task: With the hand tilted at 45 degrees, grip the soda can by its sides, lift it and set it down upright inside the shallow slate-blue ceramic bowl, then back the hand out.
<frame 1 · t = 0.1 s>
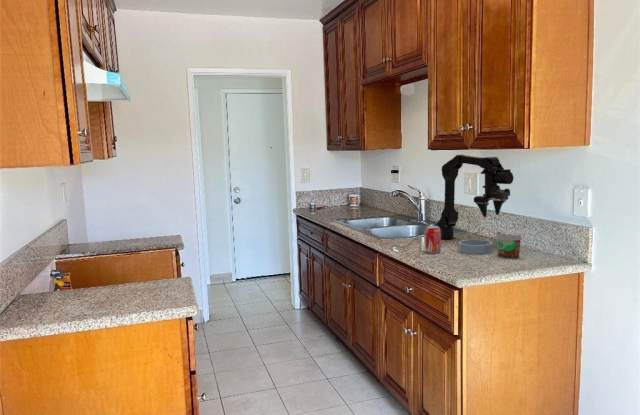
hand: (491, 216, 235), 15 cm above the table, tool pointing down, fingers open, 9 cm apart
bowl: (475, 250, 227), on the table
soda can: (433, 252, 229), on the table
food container: (505, 256, 214), on the table
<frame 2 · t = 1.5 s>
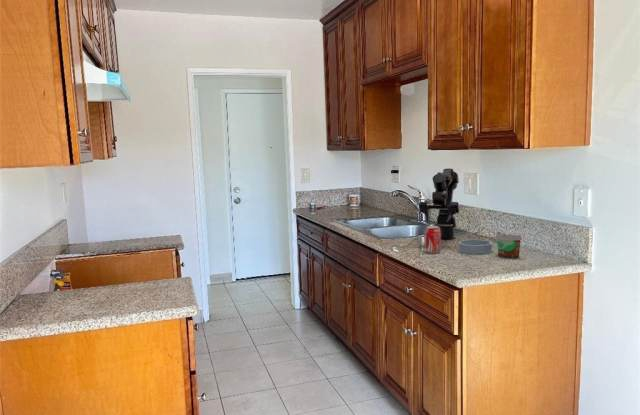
hand: (436, 221, 234), 13 cm above the table, tool tilted 45°, fingers open, 9 cm apart
nothing on the table moved.
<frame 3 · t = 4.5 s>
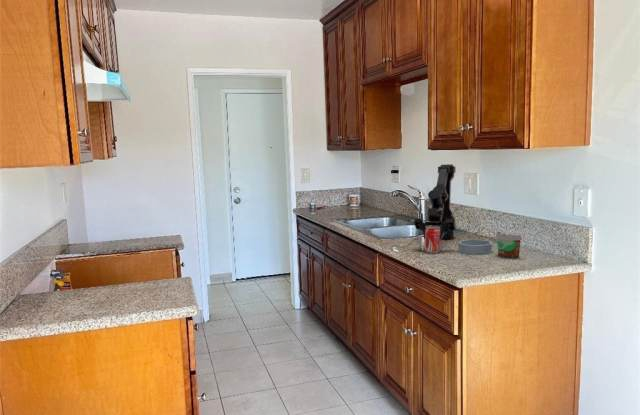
hand: (432, 238, 227), 7 cm above the table, tool tilted 45°, fingers closed on soda can, 7 cm apart
soda can: (433, 252, 229), on the table, touching gripper
everything else where it was.
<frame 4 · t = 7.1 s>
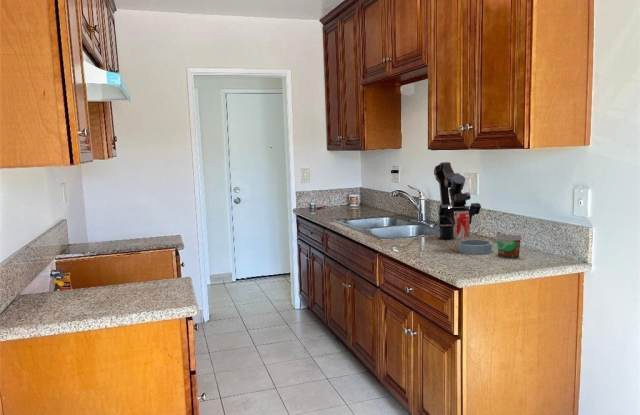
hand: (462, 224, 224), 13 cm above the table, tool tilted 45°, fingers closed on soda can, 7 cm apart
soda can: (461, 238, 226), point 6 cm above the table, touching gripper
everything else where it was.
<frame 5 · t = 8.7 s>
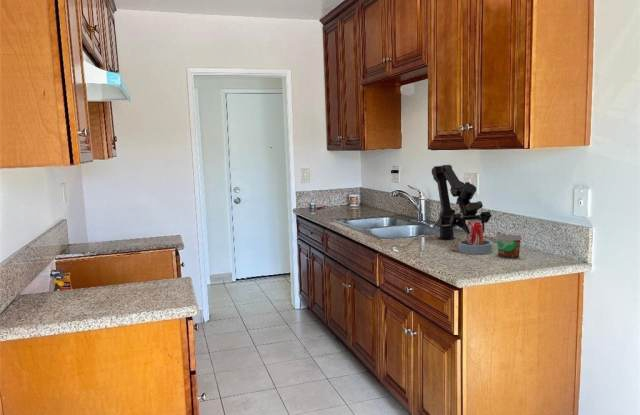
hand: (476, 232, 225), 9 cm above the table, tool tilted 45°, fingers closed on soda can, 7 cm apart
soda can: (474, 246, 227), point 2 cm above the table, touching gripper
everything else where it was.
when the fingers open (8 cm above the table, at t = 9.7 s): soda can stays where it is, resting on bowl.
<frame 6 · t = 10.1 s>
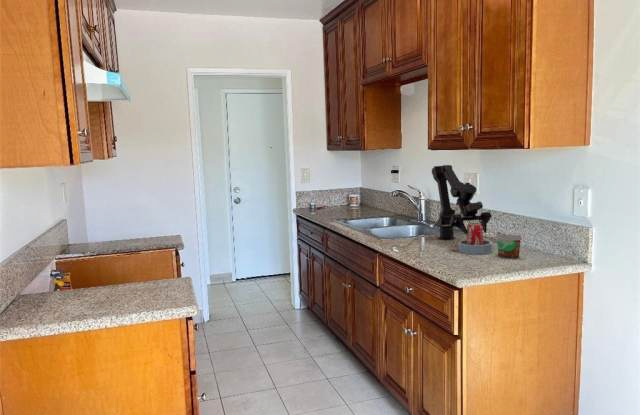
hand: (476, 233, 225), 9 cm above the table, tool tilted 45°, fingers open, 9 cm apart
soda can: (474, 249, 228), point 1 cm above the table, touching bowl
everything else where it was.
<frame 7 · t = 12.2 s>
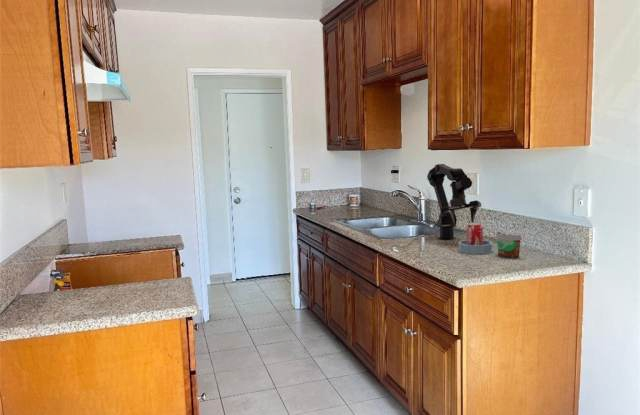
hand: (463, 224, 239), 10 cm above the table, tool tilted 20°, fingers open, 9 cm apart
nothing on the table moved.
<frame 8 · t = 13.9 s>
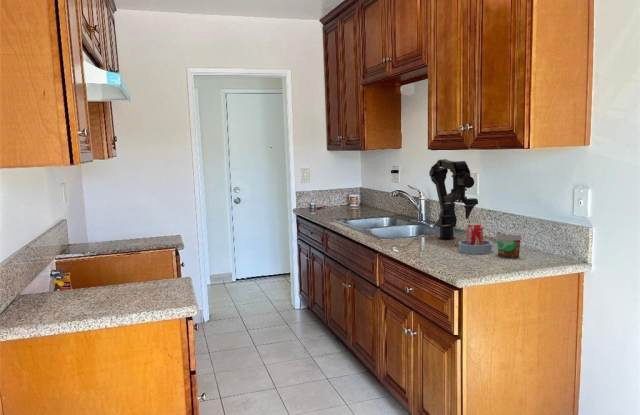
hand: (459, 218, 243), 13 cm above the table, tool pointing down, fingers open, 9 cm apart
nothing on the table moved.
at the end: soda can 0.2 cm off-centre on the bowl, point 0.6 cm above the bowl's base; soda can tilted 0°; the gripper is holding nothing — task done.
